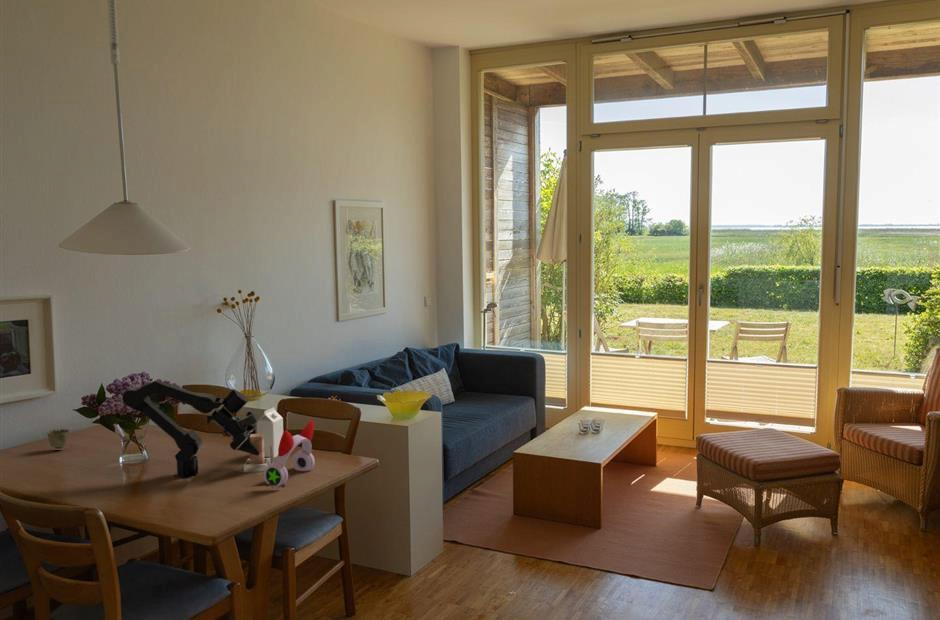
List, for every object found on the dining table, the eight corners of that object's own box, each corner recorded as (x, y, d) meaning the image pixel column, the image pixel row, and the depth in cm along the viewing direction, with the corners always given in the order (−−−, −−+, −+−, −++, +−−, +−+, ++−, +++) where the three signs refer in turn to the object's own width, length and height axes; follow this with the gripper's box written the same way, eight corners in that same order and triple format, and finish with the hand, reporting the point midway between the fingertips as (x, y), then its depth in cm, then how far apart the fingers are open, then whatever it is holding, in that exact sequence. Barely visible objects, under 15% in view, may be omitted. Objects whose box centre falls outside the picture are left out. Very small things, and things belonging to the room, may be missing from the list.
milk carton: (257, 460, 292) (256, 410, 290) (268, 454, 299) (266, 406, 297) (274, 461, 290) (272, 411, 288) (284, 456, 296) (282, 407, 295)
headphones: (296, 471, 278) (294, 416, 276) (319, 473, 274) (318, 418, 272) (263, 487, 259) (261, 429, 257) (287, 490, 256) (286, 431, 254)
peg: (250, 470, 273) (248, 437, 272) (252, 466, 278) (251, 434, 277) (262, 469, 274) (261, 436, 273) (264, 466, 278) (263, 433, 277)
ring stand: (257, 479, 268) (256, 452, 267) (232, 474, 274) (231, 448, 273) (282, 470, 278) (281, 444, 277) (257, 465, 284) (256, 440, 283)
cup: (55, 448, 311) (54, 428, 310) (73, 448, 311) (72, 428, 310) (44, 453, 304) (43, 433, 303) (62, 453, 303) (61, 433, 303)
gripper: (238, 411, 264) (272, 442, 266) (249, 400, 283) (280, 429, 285) (215, 434, 264) (249, 465, 266) (227, 422, 283) (259, 450, 285)
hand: (260, 451), depth 275 cm, fingers open, 8 cm apart
